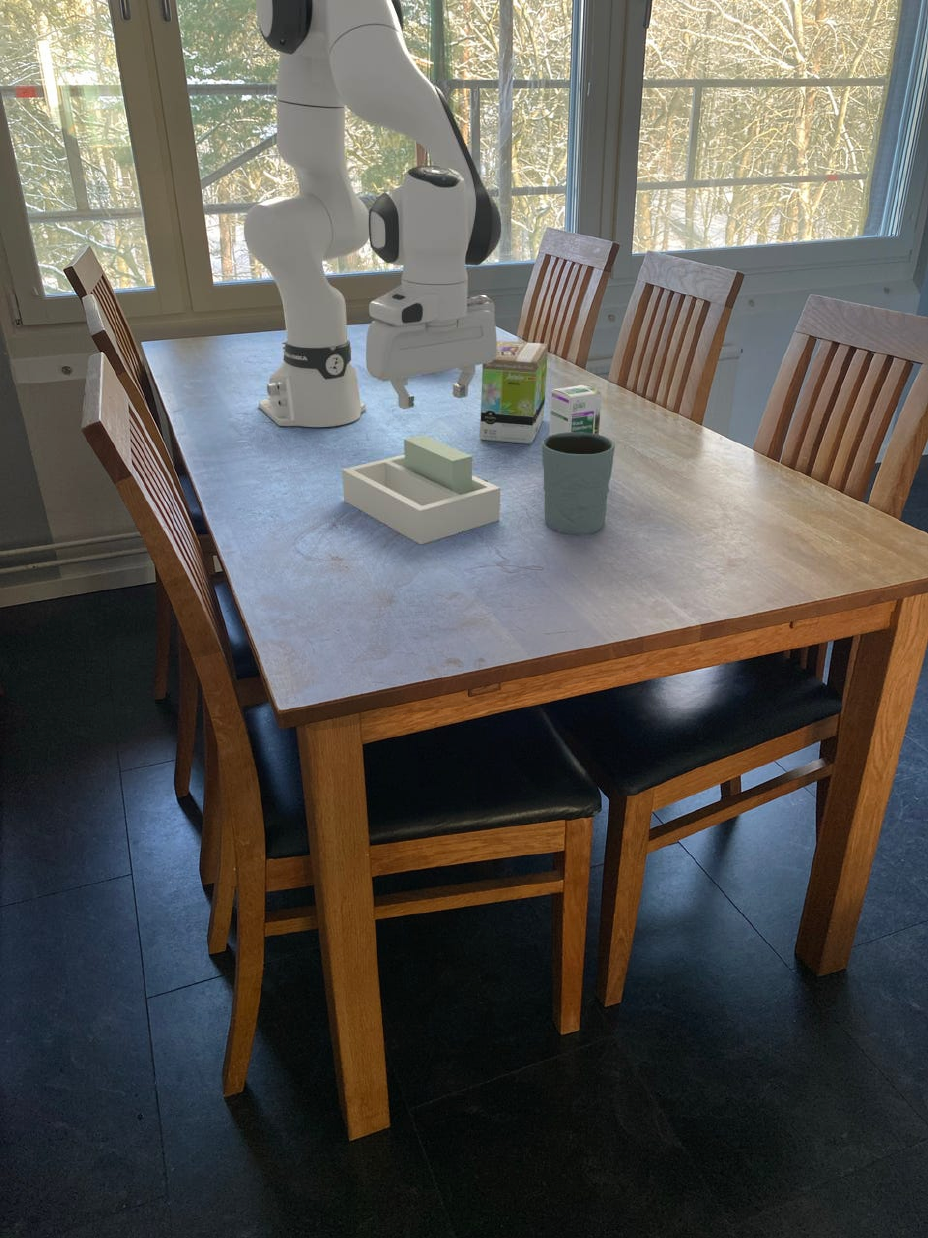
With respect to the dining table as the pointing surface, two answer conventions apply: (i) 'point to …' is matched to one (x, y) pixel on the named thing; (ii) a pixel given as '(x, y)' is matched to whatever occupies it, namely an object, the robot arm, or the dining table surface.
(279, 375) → the robot arm
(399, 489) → the divided cream tray
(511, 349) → the tea box
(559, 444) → the gray green embossed cup
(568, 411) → the syrup box
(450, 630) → the dining table surface
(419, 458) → the long pale green block
